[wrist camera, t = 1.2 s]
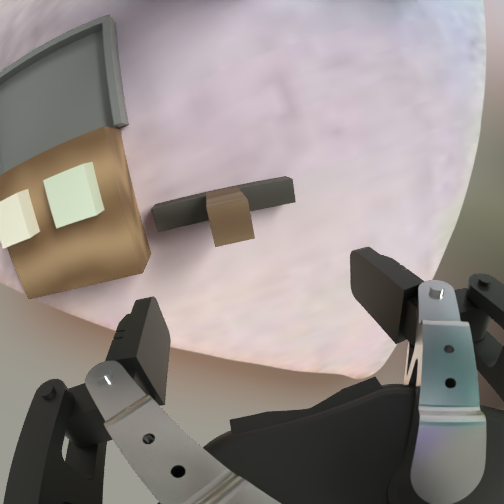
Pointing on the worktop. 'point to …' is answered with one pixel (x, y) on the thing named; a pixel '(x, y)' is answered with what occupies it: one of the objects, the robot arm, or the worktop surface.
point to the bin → (61, 92)
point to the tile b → (74, 195)
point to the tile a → (17, 219)
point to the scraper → (225, 208)
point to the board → (84, 231)
